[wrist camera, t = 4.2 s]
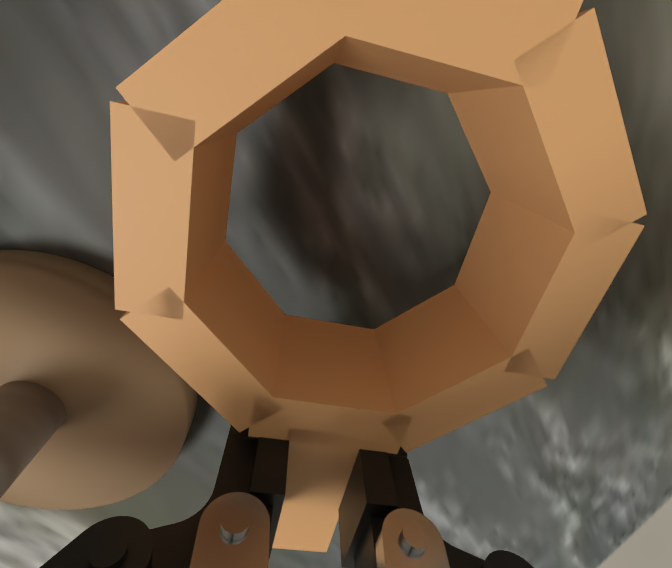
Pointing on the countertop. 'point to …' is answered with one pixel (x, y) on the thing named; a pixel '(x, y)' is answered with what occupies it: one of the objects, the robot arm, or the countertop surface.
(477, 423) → the countertop surface
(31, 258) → the round wooden base
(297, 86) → the ring
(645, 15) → the countertop surface
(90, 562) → the robot arm
